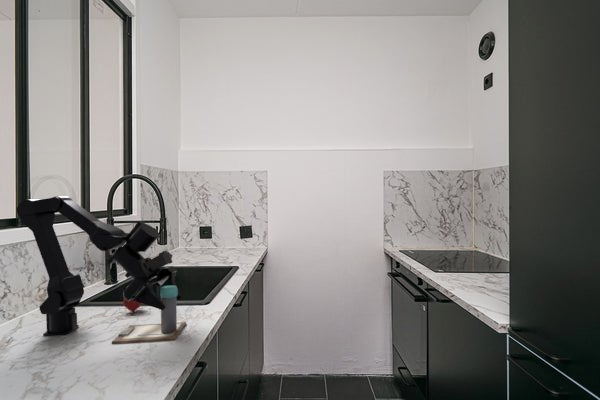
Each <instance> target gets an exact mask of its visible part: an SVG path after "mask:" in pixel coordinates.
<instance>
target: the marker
mask: <svg viewBox="0 0 600 400" xmlns="http://www.w3.org/2000/svg"><path fill="white" fill-rule="evenodd" d="M178 290H179V288H178V286H177V285H176V286H174V285H169V286H163V287H161V288H160V290H159V291H160V300H161V301H162V302H163V304H164V305H165V307H166V308H165V309H164V310H160V324H161V333H164V334H168V333H173V332H175V331H176V330H177V323H178V322H177V317H178V316H177V299H176V296H178Z"/></svg>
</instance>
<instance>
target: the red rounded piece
mask: <svg viewBox="0 0 600 400" xmlns="http://www.w3.org/2000/svg"><path fill="white" fill-rule="evenodd" d="M122 304H123V306H124V307H125V309H127V310H128V311H129V312H135V311H136V310H138V309H139V308H140V307H141V306H142V303H139V302H133V301H132V300H130V301H127V300H126V299H125V298H124V297H123V300H122Z"/></svg>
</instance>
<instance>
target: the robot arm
mask: <svg viewBox="0 0 600 400" xmlns="http://www.w3.org/2000/svg"><path fill="white" fill-rule="evenodd" d="M16 213H17V215H18V217H19V219H20V221H21V222H22V224H23V225H24V226H25V227H26V228H28V229H29V230H30V231H31V232H32V233H33V237H34V239H35V242H36V245H37V248H38V251H39V253H40V256H41V259H42V262H43V263H44V267H45V270H46V272H47V275H48V276H47V277H48V282H47V286H46V294H47V297H46V299H45V300H44V301H42V303H41V304H40V305H39V311H40V314H41V315H45V316H46V318H45V319H46V331H45V332H44V333H43V334H42V335H43V336H58V335H68V334H69V333H71V332H73V331H74V330H76V329H77V328H79V326H80V325H79V324H78V313H77V312H76V307H78V306H79V305H80V304H81V303H80V302H81V299H82V298H83V296H84V294H85V290H84V288H85V287H86V286H85V284H83V283H84V282H83V281H82V277H81V274H79V273H78V274H76V275H74V274H73V273H72V272H71V271H70V269H69V266H68V264H67V262H66V258H65V256H64V253H63V251H62V248H61V246H60V243H59V242H60V241H59V240H58V237H57V234H56V232H55V229H54V223H55V219H56V214H57V213H59V214H61V215H62V216H63V217H65V218H66V219H67V220H68V221H70V222H71V223H72V224H74V225H75V226H77V227H78V228H80V229H81V230H82V231H83V232H85V234H87V235H88V238H89V240H90V242H91V243H92V244H93V245H94V246H95V248H97V249H98V250H99V251H102V252H105V251H106V252H107V251H110V250H111V251H112V250H115V251H114V252H113V253H108V255H107V257H108V258H107V265H112V264H115V263H117V264H118V265H119V266H120V267H121V268H122V270H124V271H125V272H126V273H125V277H126V278H127V279H128V278H130V277H131V278H132V279H133V280H132V281H131V282H130V283H129V284H128V285H127V286H126V287H125V289H124V290H123V291H122V292H123V293H122V297H123V299H124V298H125V299H126V300H127V301H130V300H132V301H133V302H139V303H142V304H143V305H146V306H149V307H152V308H155V309H158V310H160V311H161V310H164V309H165V308H166V307H165V305H164V304H163V302H162V301H161V297H159V296H158V295H157V293H156V292H155V290H154V285H155V286H156V287H158V290H159V291H160V288H161V287H163V286H169V285H174V286H177V283H176V281H175V279H176V275H177V271H178V270H177V269H176V268H175V266H173V265H168V264H172V263H173V260H172V258H173V254H171V253H170V252H169V251H167V250H163V251H161V252H159V253H158V255H156V256H154V257H151V258H150V257H144V256H143V255H142V254H141V253H140V252H142V253H145V252H147V250H148V249H149V248H150V247H151V246H152V245H153V244H154V243H155V242H156V241H157V240H158V239H159V237H160V233H159V231H158V230H157V228H155V227H152V226H151V225H150V224H147V223H145V222H144V221H143V220H141V221H137V222H136V224H135V225H134V227H133V228H132V229H131V230H130V231H129V232H125V231H124V230H123V229H122V228H119V227H117V226H115V225H113V224H110V223H107V222H103V221H102V220H101V219H98V218H97V217H96V216H94V215H93V214H91V213H90V212H89V211H88V210H87V209H85V208H83V207H82V206H80V205H79V204H78V203H77V202H75V201H74V200H73V198H71V197H70V196H66V195H64V196H63V195H62V196H59V195H56V196H53V197H50V198H49V197H48V198H41V199H40V198H39V199H38V198H36V199H35V198H32V199H29V198H28V199H27V198H25V199H23V200H21V201H20V202H19V204H18V205H17V207H16ZM167 265H168V266H167ZM165 266H166V267H165ZM162 267H163V268H162ZM180 292H181V291H180V290H179V289H178V296H176V301H177V300H178V301H181V299H182V295H181V293H180ZM142 304H141V305H142Z"/></svg>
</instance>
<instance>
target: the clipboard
mask: <svg viewBox="0 0 600 400" xmlns="http://www.w3.org/2000/svg"><path fill="white" fill-rule="evenodd" d="M186 325H187V322H186V321H183V322H177V330H176V331H175V332H173V333H168V334H164V333H161V323H151V324H150V323H149V324H147V323H146V324H134V325H133V324H131V325H129V326H128V327H125V328H124V329H123V330H122V331H120V332H119V333H118V335H117V336H116V337H115V338H114V339H112V341H111V345H114V344H129V343H130V344H131V343H133V344H134V343H146V342H149V343H150V342H161V341H162V342H166V341H176V340H177V338H178V336H180V334H181V332H182V331H183V329H185V327H186Z"/></svg>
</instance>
